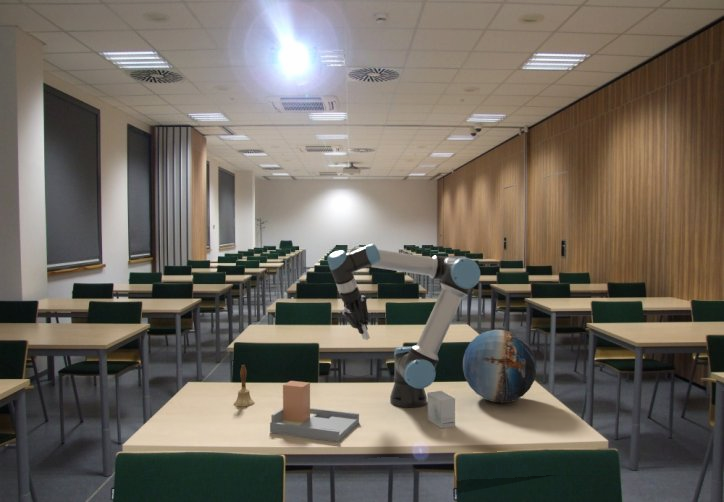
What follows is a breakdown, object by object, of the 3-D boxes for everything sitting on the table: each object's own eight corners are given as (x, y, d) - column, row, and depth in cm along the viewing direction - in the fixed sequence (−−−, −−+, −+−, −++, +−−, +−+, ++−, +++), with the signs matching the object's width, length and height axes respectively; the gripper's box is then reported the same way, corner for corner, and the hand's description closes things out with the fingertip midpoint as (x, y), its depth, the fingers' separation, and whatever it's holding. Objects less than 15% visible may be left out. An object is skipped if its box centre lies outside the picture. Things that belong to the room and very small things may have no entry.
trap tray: (359, 422, 204) (359, 406, 204) (338, 442, 186) (338, 424, 185) (296, 414, 213) (295, 399, 213) (270, 432, 195) (270, 415, 194)
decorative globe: (529, 366, 249) (462, 354, 254) (542, 321, 229) (469, 309, 235) (529, 423, 226) (455, 409, 232) (543, 379, 207) (462, 364, 213)
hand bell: (229, 405, 225) (229, 366, 225) (241, 399, 233) (241, 362, 232) (246, 407, 222) (246, 368, 222) (258, 401, 230) (257, 363, 229)
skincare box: (426, 419, 208) (426, 392, 208) (441, 417, 210) (441, 390, 210) (440, 428, 198) (440, 399, 198) (455, 426, 201) (455, 397, 200)
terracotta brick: (310, 417, 204) (310, 382, 204) (302, 422, 199) (302, 387, 198) (290, 415, 207) (290, 380, 207) (283, 420, 201) (282, 384, 201)
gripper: (352, 279, 220) (370, 327, 229) (330, 296, 212) (349, 345, 221) (365, 281, 214) (383, 330, 223) (343, 299, 207) (361, 349, 216)
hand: (366, 338), depth 222 cm, fingers closed
